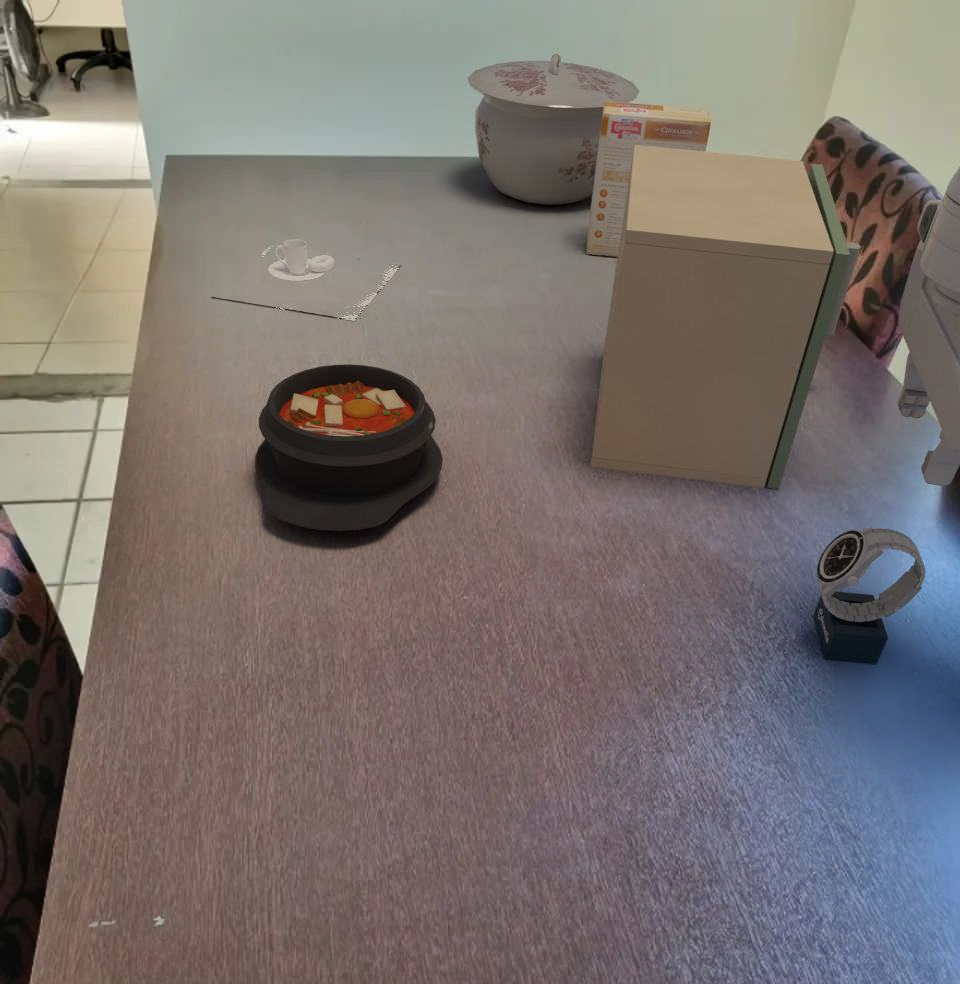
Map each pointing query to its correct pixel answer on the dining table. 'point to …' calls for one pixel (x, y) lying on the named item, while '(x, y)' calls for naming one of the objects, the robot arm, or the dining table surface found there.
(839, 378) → the dining table surface
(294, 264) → the teacup and saucer
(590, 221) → the coffeecake box
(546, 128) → the chamber pot
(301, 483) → the casserole
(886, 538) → the watch
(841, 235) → the cupboard door
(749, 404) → the cupboard
